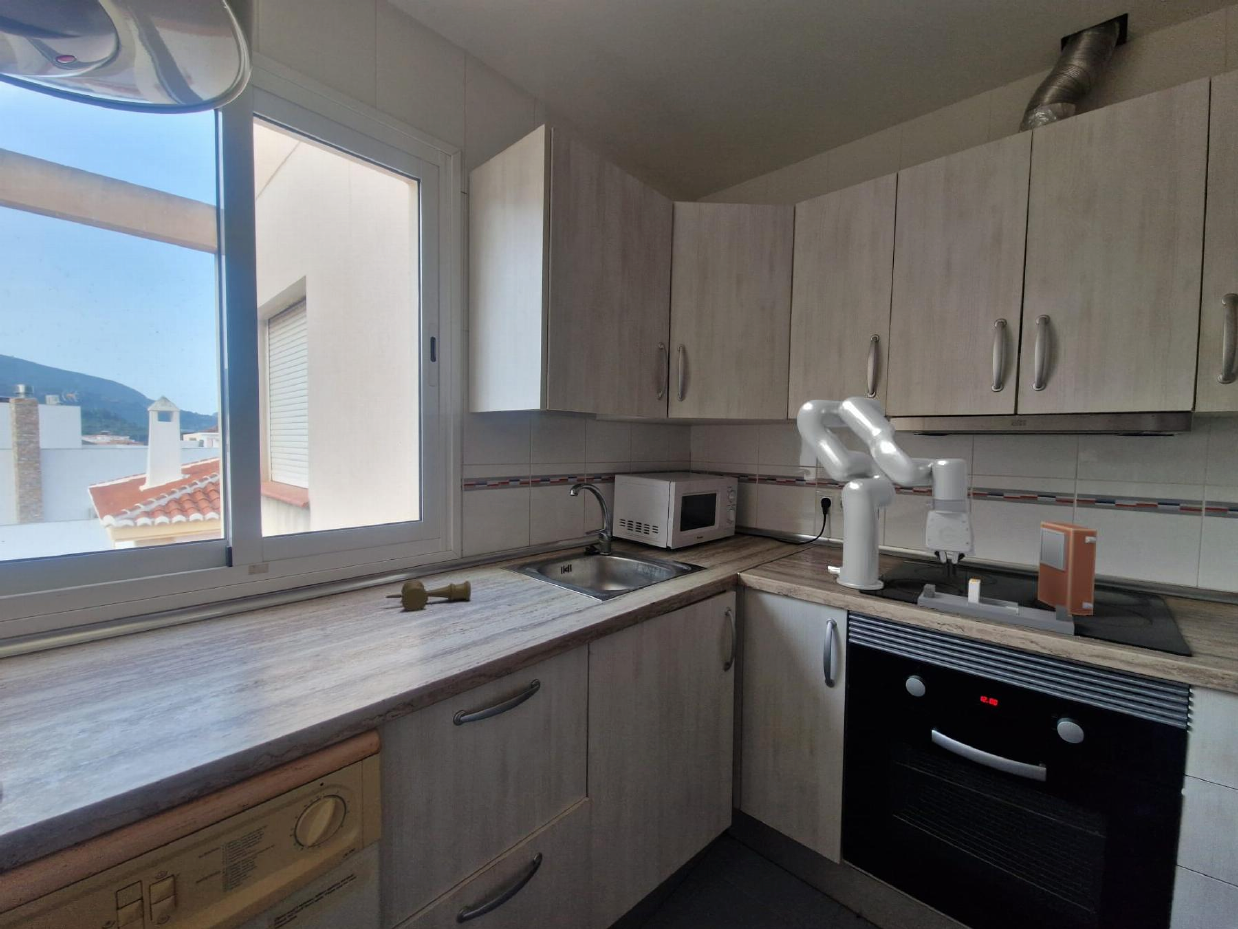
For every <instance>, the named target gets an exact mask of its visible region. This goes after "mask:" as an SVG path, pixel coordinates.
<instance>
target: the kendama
mask: <svg viewBox="0 0 1238 929" xmlns="http://www.w3.org/2000/svg"><path fill="white" fill-rule="evenodd" d="M400 592H401V593H399V594H390V595H386V596H385V598H386V599H400V598H401V605H402V607H403V608H404V610H406V611H408V612H416V611H422V610H423V609H424V608H425V607H426V605H428V601H429V598H443V599H448V600H450V601H454V600H456V599H463V600H465V601H470V599H471V594H472V593H471V592H472V587H471V583H470V581H469V580H465V581H464V582H462V583H459V584H454V583H453V582H451V583H450V584H449V585H447V586H445V587H439V588H436V589H430V590H429V589H428V590H426V589H425V586H424V584H423V582H422V581H419V580H416V579H413V580H408V581H407V582H405V583H404V584H403V586H402V587H401V591H400Z"/></svg>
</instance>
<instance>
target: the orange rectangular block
mask: <svg viewBox="0 0 1238 929" xmlns="http://www.w3.org/2000/svg"><path fill="white" fill-rule="evenodd" d="M1097 532H1098V530H1096V529H1094V528H1090V527H1084V526H1081V525H1080V526H1079V525H1075V524H1071V523H1066V522H1059V521H1058V522H1055V521H1051V522H1050V521H1041V522H1040V536H1039V537H1040V538H1039V539H1040V540H1039V555H1038V556H1039V560H1038V584H1037V585H1038V586H1037V600H1039V601H1041V602H1043V603H1044V604H1047V605H1048V606H1050V607H1052V606H1053V607H1052V608H1054V609H1056V605H1062V606H1067V608H1068V614H1069V615H1072V614H1073V615H1075V616H1086V615H1094V600H1095V599H1094V598H1095V597H1094V595H1095V594H1094V593H1095V579H1096V578H1095V575H1096V559H1097V558H1096V557H1097V556H1096V554H1097V552H1096V551H1097V539H1098V538H1097V537H1098V535H1097V534H1098V533H1097ZM1073 615H1072V616H1073Z"/></svg>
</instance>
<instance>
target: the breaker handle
mask: <svg viewBox="0 0 1238 929" xmlns="http://www.w3.org/2000/svg"><path fill="white" fill-rule="evenodd" d="M980 595H981V579H976V578H970V579H969V581H968V597H967V598H968V601H969V602H975V603H979V601H980V597H981V596H980Z"/></svg>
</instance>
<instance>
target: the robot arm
mask: <svg viewBox="0 0 1238 929" xmlns="http://www.w3.org/2000/svg"><path fill="white" fill-rule="evenodd" d="M796 424H797V429H798V432H799V436H801V438H802V440H803V441H804V443H806V445H807V446H808V447H809V448H810V450H811V451H812V452H813V454H814V455H815V457H816V458H817V460H818V461H819V463H820V464H821V466H823V468H824V469H825V471H826V472H827V474H828V475H829V476H830V477H831V479H833V480H835V481H836V482H847V483H846V484H845V485H844V486H843V487H842V488H843V489H842V490H841V495H840V496H841V497H840V498H841V504H842V505H841V506H842V510H843V511H842V512H843V543H842V545H843V548H842V550H843V551H842V566H839V567H837V566H833V565H829V566H828V569H827V570H828V572H829V574H833V575H838V576H837V577H836V582H837V583H838V584H839V585H840V586H844V587H847V588H852V589H855V590H856V589H857V590H868V591H870V590H871V591H872V590H874V591H875V590H881V589H883V588H884V582H883V581H881V580H879V555H880V554H879V553H880V550H879V549H880V548H879V547H880V521H879V517H878V513H877V510H883V509H887V508H889V507H891V506H892V505H893V503H894V502H895V501H896V496H897V494H896V493H897V492H896V489H895V486H894V484H893V482H895V483H896V484H897V485H899V486H902V487H922V486H924V487H925V486H932V487H931V491H932V492H931V494H932V499H931V500H929V501H928V500H926V501H925V506H926V507H930V508H931V510H928V513H927V518H926V523H925V524H926V526H925V551H924V552H925V553H927V554H930V555H934V556H935V557H937V558H938V559H939V560H940V562H941V563H942V564H941V565H942V569H941V570H942V574H943V575H944V576H945V577H944V578H945V579H951V580H953V579H955V576H958V563H959V562H960V561H962V560H963V559H966V558H973V557H975V556H976V552H975V549H974V546H975V537H974V524H973V519H972V515H971V512H969V511H968V465H967V464H968V463H967V461H966V460H965V459H963V458H937V459H934V458H926V457H910V456H909V455H907V454H906V453H905V451H903V450H902V449H901V448H900V447H899V446H898V445H897V444H896V443H895V440H894V438H893V437H894V435H895V432H896V427H895V425H893V424H892V423H891V422H890V421H888V420H887V418H885V417H884V407H883V406H882V404H881V403H880V401H878V400H876V399H874V398H872V397H863V396H862V397H861V396H851V397H847V398H846V399H844V400H842V401H841V400H837V401H835V400H828V399H826V400H825V399H811V400H809V401H806V402H805V403H803V404H802V406H801V407H800V408H799V410H798V413H797V418H796ZM829 428H850V429H851V430H852V431H853V432H854V433H855V434H856V435H857V436H858V437H859V438H860V439H861V440H862V441H863V443H865V444H866V445H867V447H869V448H868V449H869V452H870V455H871V456H872V457H871V456H870V455H869V454H867V453H865V452H862V451H858V450H849V449H848V448H847V447H846V446H845V445H844V444H843V442H841V440H840V438H838V436H837V435H836V434H835V433H833V431H831V430H830V429H829ZM888 477H889V478H888ZM890 479H891V480H892V482H891V480H890ZM947 552H951V553H952V556H951V557H952V558H951V560H950V561H949V558H948V554H947Z"/></svg>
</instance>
